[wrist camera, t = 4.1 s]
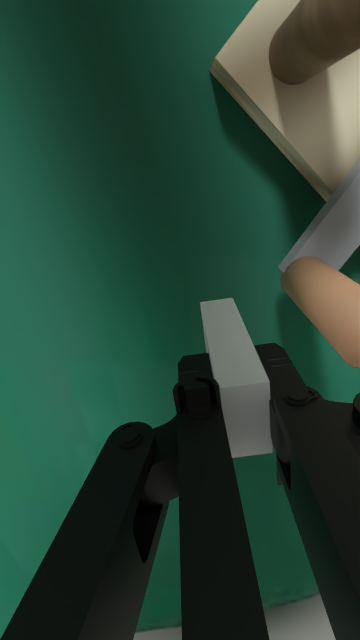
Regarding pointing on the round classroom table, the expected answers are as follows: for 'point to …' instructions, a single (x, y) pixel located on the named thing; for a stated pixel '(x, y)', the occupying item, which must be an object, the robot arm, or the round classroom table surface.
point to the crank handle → (329, 269)
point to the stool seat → (300, 82)
